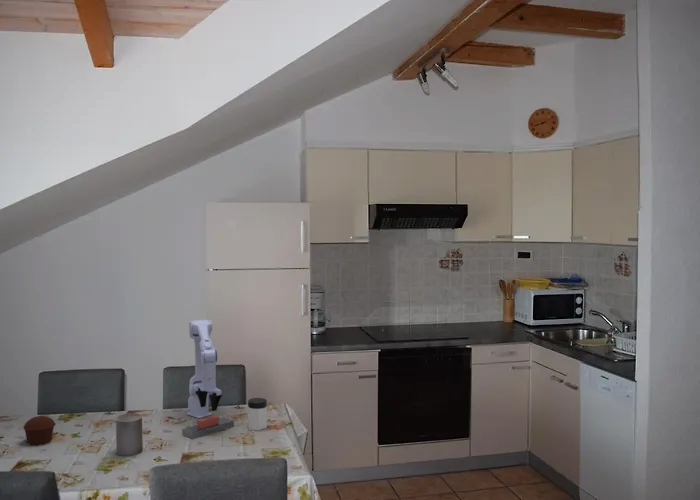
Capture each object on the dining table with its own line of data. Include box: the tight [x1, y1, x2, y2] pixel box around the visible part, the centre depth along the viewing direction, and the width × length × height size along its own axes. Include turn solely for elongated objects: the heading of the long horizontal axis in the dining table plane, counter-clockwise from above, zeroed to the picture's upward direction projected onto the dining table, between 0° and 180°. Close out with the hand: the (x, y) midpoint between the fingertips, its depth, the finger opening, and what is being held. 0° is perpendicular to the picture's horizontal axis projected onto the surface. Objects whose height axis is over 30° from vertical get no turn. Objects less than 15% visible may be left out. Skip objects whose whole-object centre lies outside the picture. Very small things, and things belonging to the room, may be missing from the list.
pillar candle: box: [115, 412, 144, 457], centre depth 253 cm, size 10×10×15 cm
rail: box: [181, 416, 235, 440], centre depth 279 cm, size 7×22×2 cm, turn 140°
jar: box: [247, 397, 268, 431], centre depth 284 cm, size 9×8×12 cm
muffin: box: [23, 415, 56, 446], centre depth 262 cm, size 12×11×10 cm
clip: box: [196, 414, 220, 428], centre depth 278 cm, size 4×9×5 cm, turn 141°
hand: (208, 408), depth 278 cm, fingers open, 7 cm apart
